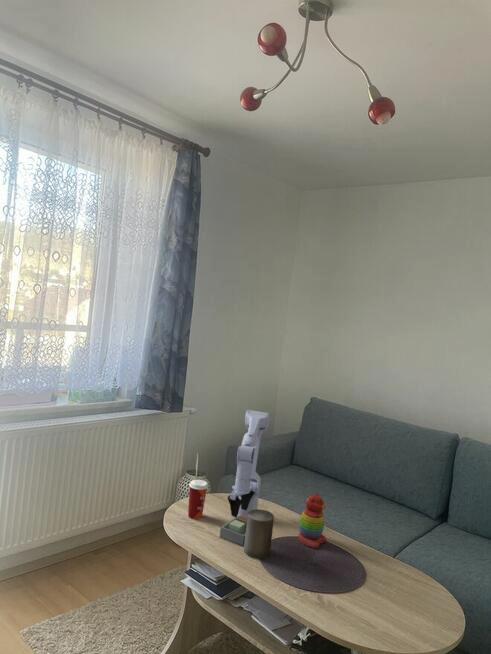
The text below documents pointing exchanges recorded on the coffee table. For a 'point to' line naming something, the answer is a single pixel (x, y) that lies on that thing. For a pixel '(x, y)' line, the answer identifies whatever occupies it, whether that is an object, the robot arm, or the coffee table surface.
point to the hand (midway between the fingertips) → (239, 512)
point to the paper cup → (197, 498)
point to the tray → (232, 534)
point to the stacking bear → (312, 522)
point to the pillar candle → (258, 533)
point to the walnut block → (243, 520)
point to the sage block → (237, 527)
